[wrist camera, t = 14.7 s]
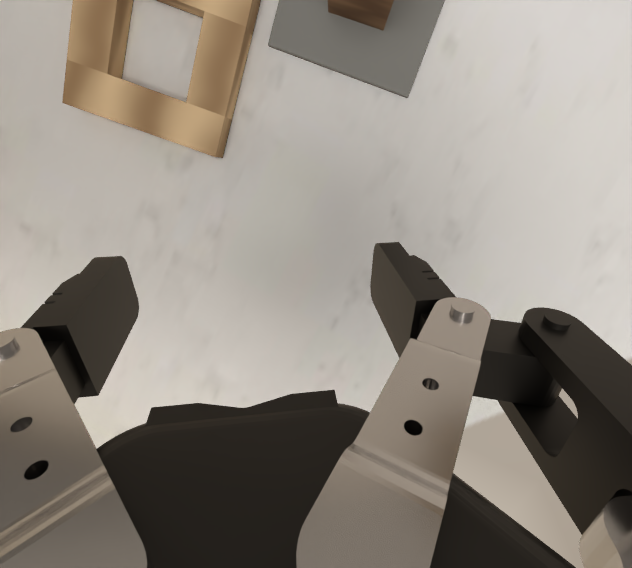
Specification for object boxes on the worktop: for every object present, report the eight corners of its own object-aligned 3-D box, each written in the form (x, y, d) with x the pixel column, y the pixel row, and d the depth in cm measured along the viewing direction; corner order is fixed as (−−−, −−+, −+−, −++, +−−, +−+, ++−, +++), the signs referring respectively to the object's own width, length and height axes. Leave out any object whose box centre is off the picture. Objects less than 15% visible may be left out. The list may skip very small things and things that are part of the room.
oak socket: (79, 106, 31) (62, 102, 29) (99, -73, 27) (82, -91, 25) (222, 157, 32) (215, 156, 30) (263, -11, 28) (257, -24, 26)
